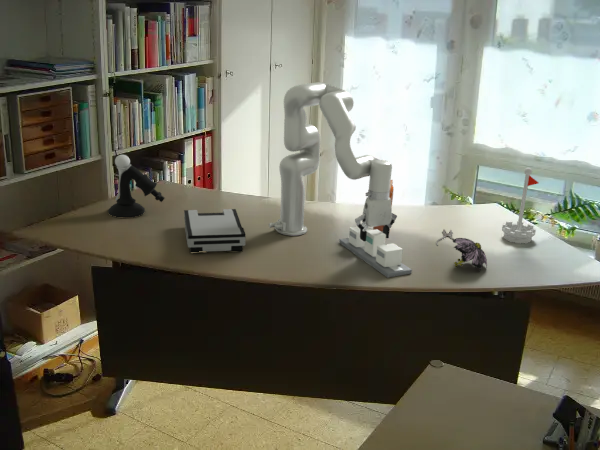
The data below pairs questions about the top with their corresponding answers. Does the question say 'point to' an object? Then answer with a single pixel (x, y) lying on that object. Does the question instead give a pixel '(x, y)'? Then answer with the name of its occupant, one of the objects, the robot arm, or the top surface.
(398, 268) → the din rail
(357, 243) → the module left
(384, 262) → the block
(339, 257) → the top surface
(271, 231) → the top surface
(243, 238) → the game console
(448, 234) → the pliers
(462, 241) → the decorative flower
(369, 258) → the rail board
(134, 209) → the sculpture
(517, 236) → the flag stand
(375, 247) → the block
